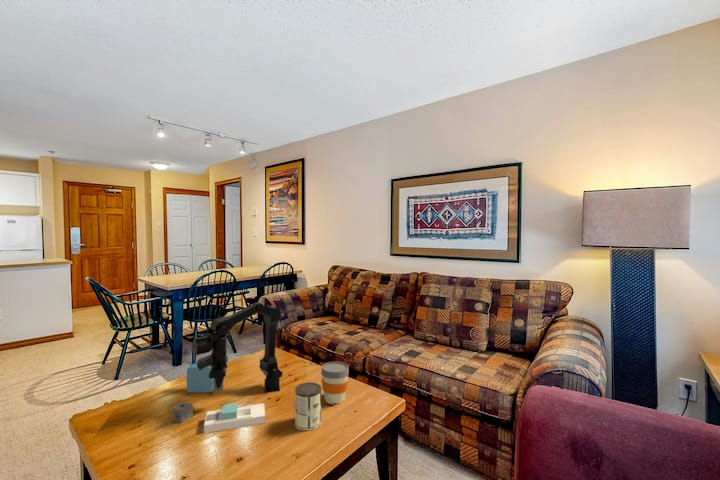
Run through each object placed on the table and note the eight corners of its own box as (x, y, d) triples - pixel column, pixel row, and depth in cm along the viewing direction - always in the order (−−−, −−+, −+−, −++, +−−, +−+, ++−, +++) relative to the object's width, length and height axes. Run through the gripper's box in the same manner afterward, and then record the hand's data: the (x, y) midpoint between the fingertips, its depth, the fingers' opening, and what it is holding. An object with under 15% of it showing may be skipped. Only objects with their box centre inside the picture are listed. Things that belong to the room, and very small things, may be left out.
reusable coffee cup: (315, 403, 146) (316, 369, 146) (328, 390, 158) (329, 359, 157) (341, 409, 141) (341, 374, 141) (352, 396, 153) (353, 364, 153)
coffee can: (302, 414, 137) (303, 380, 137) (325, 418, 134) (325, 384, 133) (289, 427, 127) (290, 391, 127) (313, 433, 124) (314, 396, 124)
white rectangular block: (223, 386, 142) (224, 372, 142) (223, 390, 138) (223, 375, 138) (214, 388, 141) (214, 373, 141) (213, 392, 137) (213, 376, 137)
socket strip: (263, 410, 139) (263, 402, 139) (265, 423, 130) (265, 414, 130) (206, 419, 132) (207, 410, 132) (204, 433, 123) (204, 424, 122)
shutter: (237, 408, 134) (237, 402, 134) (236, 417, 128) (236, 411, 128) (222, 410, 132) (222, 404, 132) (221, 420, 126) (221, 413, 126)
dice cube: (184, 413, 136) (184, 401, 136) (192, 416, 134) (192, 404, 133) (172, 419, 131) (172, 407, 131) (181, 423, 129) (181, 410, 129)
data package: (216, 388, 158) (216, 363, 158) (212, 392, 154) (212, 367, 154) (190, 388, 158) (191, 363, 158) (186, 392, 153) (186, 367, 153)
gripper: (201, 344, 146) (200, 379, 146) (195, 359, 128) (194, 399, 128) (228, 341, 149) (227, 375, 149) (225, 356, 132) (225, 395, 132)
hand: (218, 385), depth 140 cm, fingers closed on white rectangular block, 4 cm apart
